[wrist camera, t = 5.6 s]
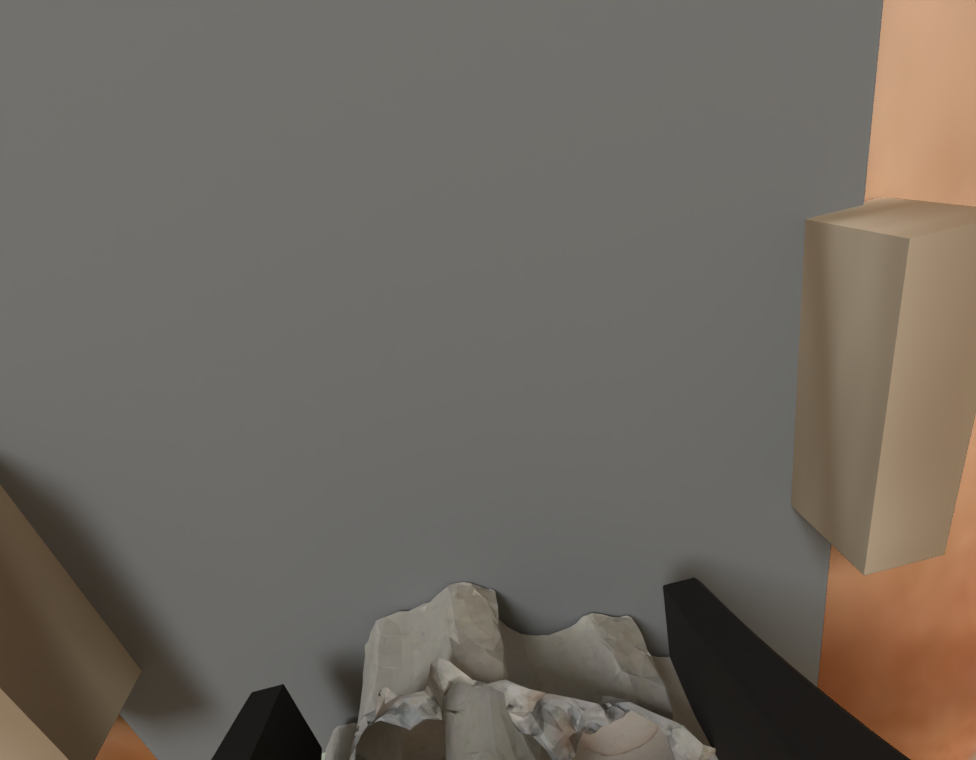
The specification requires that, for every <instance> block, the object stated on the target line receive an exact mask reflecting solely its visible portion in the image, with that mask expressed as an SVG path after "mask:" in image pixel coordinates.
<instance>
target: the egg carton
mask: <svg viewBox="0 0 976 760" xmlns="http://www.w3.org/2000/svg"><path fill="white" fill-rule="evenodd" d="M325 760H718V758H717V756H716V755H715V748H712V747H711V745H710V743H709V742H708V740H707V738H706V736H705V734H704V732H703V730H702V728H701V727H700V725H699V723H698V721H697V719H696V717H695V715H694V713H693V711H692V708H691V706H690V704H689V701H688V699H687V697H686V695H685V692H684V690H683V688H682V685H681V683H680V680H679V678H678V676H677V673H676V671H675V669H674V666H673V664H672V661H671V659H670V657H656V656H651V655H650V653H649V652H648V650H647V647H646V644H645V641H644V638H643V636H642V634H641V632H640V630H639V628H638V626H637V625H636V623H635V622H634V620H633V619H632V617H629V616H622V617H610V616H607V615H603V614H596V613H591V614H588V615H585V616H583V617H581V618H580V620H579V621H578V622H577V623H576V624H574V625H573V626H571V627H569V628H567V629H564V630H561V631H559V632H556V633H553V634H550V635H538V636H537V635H536V636H535V635H527V634H520V633H518V632H516V631H514V630H512V629H510V628H509V627H507V626H506V625H505V624H504V623H503V622H502V621H501V620H500V619H499V615H498V604H497V599H496V594H495V591H494V590H491V589H486V588H483V587H480V586H477V585H474V584H471V583H466V582H461V583H454V584H450V585H448V586H447V587H446V588H445V589H444V590H442V591H441V592H440V593H439V594H438V595H437V596H435V597H434V598H433V599H432V600H431V601H430V602H428V603H423V604H422V605H420V606H418V607H416V608H414V609H412V610H410V611H399V612H395V613H393V614H390V615H387V616H385V617H383V618H381V619H379V620H377V621H376V622H375V624H374V626H373V628H372V630H371V633H370V637H369V640H368V642H367V643H366V645H365V661H364V669H363V686H362V694H361V703H360V710H359V716H358V723H351V724H347V725H341V726H337V727H336V728H335V729H334V730H333V732H332V735H331V738H330V740H329V743H328V745H327V747H326V752H325Z"/></svg>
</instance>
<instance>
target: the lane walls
mask: <svg viewBox="0 0 976 760" xmlns="http://www.w3.org/2000/svg"><path fill="white" fill-rule="evenodd" d="M975 414H976V207H972V206H963V205H953V204H944V203H935V202H926V201H916V200H907V199H898V198H888V197H880V198H876V199H872V200H868V201H864V205H862V206H857V207H853V208H849V209H845V210H841V211H837V212H833V213H829V214H825V215H820V216H816V217H812V218H808V219H805V235H804V254H803V274H802V294H801V314H800V334H799V354H798V374H797V394H796V414H795V434H794V454H793V474H792V493H791V506H792V507H793V508H794V509H795V510H796V511H797V512H799V513H800V514H801V515H802V516H803V517H804V518H805V519H806V520H807V521H808V522H809V523H810V524H811V525H812V526H813V527H814V528H815V529H816V530H817V531H818V532H819V533H820V534H821V535H822V536H823V537H824V538H826V539H827V540H828V541H829V542H830V543H831V544H832V545H833V546H834V547H835V548H836V549H837V550H838V551H839V552H840V553H841V554H842V555H843V556H844V557H845V558H846V559H847V560H848V561H849V562H850V563H851V564H852V565H854V566H855V567H856V568H857V569H858V570H859V571H860V572H861V573H862V574H863V575H868V574H872V573H876V572H879V571H883V570H887V569H891V568H895V567H899V566H903V565H906V564H910V563H914V562H918V561H922V560H926V559H930V558H933V557H937V556H941V555H944V554H945V549H946V545H947V540H948V536H949V531H950V527H951V522H952V518H953V513H954V509H955V504H956V500H957V495H958V491H959V486H960V482H961V477H962V473H963V468H964V464H965V459H966V455H967V450H968V446H969V441H970V437H971V432H972V428H973V423H974V419H975ZM141 671H142V670H141V669H140V668H139V667H138V665H137V664H136V663H135V661H134V660H133V659H132V657H131V656H130V655H129V653H128V652H127V651H126V649H125V648H124V647H123V645H122V644H121V643H120V641H119V640H118V639H117V638H116V636H115V635H114V634H113V632H112V631H111V630H110V628H109V627H108V626H107V624H106V623H105V622H104V620H103V619H102V618H101V616H100V615H99V614H98V613H97V611H96V610H95V609H94V607H93V606H92V605H91V603H90V602H89V601H88V599H87V598H86V597H85V595H84V594H83V593H82V591H81V590H80V589H79V587H78V586H77V585H76V584H75V582H74V581H73V580H72V578H71V577H70V576H69V574H68V573H67V572H66V570H65V569H64V568H63V566H62V565H61V564H60V562H59V561H58V560H57V558H56V557H55V556H54V555H53V553H52V552H51V551H50V549H49V548H48V547H47V545H46V544H45V543H44V541H43V540H42V539H41V537H40V536H39V535H38V533H37V532H36V531H35V530H34V528H33V527H32V526H31V524H30V523H29V522H28V520H27V519H26V518H25V516H24V515H23V514H22V512H21V511H20V510H19V508H18V507H17V506H16V504H15V503H14V502H13V501H12V499H11V498H10V497H9V495H8V494H7V493H6V491H5V490H4V489H3V487H2V486H1V485H0V760H95V758H96V756H97V754H98V752H99V751H100V749H101V747H102V745H103V743H104V741H105V739H106V737H107V735H108V733H109V732H110V730H111V728H112V726H113V724H114V722H115V720H116V718H117V716H118V715H119V713H120V711H121V709H122V707H123V705H124V703H125V701H126V699H127V698H128V696H129V694H130V692H131V690H132V688H133V686H134V684H135V682H136V681H137V679H138V677H139V675H140V673H141Z"/></svg>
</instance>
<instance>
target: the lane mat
mask: <svg viewBox="0 0 976 760" xmlns="http://www.w3.org/2000/svg"><path fill="white" fill-rule="evenodd" d="M882 9H883V0H0V485H1V486H2V487H3V489H4V490H5V491H6V493H7V494H8V495H9V497H10V498H11V499H12V501H13V502H14V503H15V504H16V506H17V507H18V508H19V510H20V511H21V512H22V514H23V515H24V516H25V518H26V519H27V520H28V522H29V523H30V524H31V526H32V527H33V528H34V530H35V531H36V532H37V533H38V535H39V536H40V537H41V539H42V540H43V541H44V543H45V544H46V545H47V547H48V548H49V549H50V551H51V552H52V553H53V555H54V556H55V557H56V558H57V560H58V561H59V562H60V564H61V565H62V566H63V568H64V569H65V570H66V572H67V573H68V574H69V576H70V577H71V578H72V580H73V581H74V582H75V584H76V585H77V586H78V587H79V589H80V590H81V591H82V593H83V594H84V595H85V597H86V598H87V599H88V601H89V602H90V603H91V605H92V606H93V607H94V609H95V610H96V611H97V613H98V614H99V615H100V616H101V618H102V619H103V620H104V622H105V623H106V624H107V626H108V627H109V628H110V630H111V631H112V632H113V634H114V635H115V636H116V638H117V639H118V640H119V641H120V643H121V644H122V645H123V647H124V648H125V649H126V651H127V652H128V653H129V655H130V656H131V657H132V659H133V660H134V661H135V663H136V664H137V665H138V667H139V668H140V669H141V670H142V671H141V673H140V675H139V677H138V679H137V681H136V682H135V684H134V686H133V688H132V690H131V692H130V694H129V696H128V698H127V699H126V701H125V703H124V705H123V707H122V709H121V711H120V713H119V714H120V715H121V716H122V717H123V718H124V720H125V721H126V722H127V723H128V724H129V726H130V727H131V728H132V729H133V730H134V732H135V733H136V734H137V735H138V736H139V738H140V739H141V740H142V741H143V742H144V744H145V745H146V746H147V747H148V748H149V750H150V751H151V752H152V753H153V755H154V756H155V757H156V758H157V759H158V760H211V759H212V757H213V756H214V754H215V752H216V751H217V749H218V747H219V746H220V744H221V742H222V741H223V739H224V737H225V735H226V734H227V732H228V730H229V729H230V727H231V725H232V724H233V722H234V720H235V719H236V717H237V715H238V714H239V712H240V710H241V709H242V707H243V705H244V704H245V702H246V701H247V699H248V697H249V696H250V694H251V693H252V692H255V691H258V690H262V689H266V688H270V687H274V686H278V685H282V684H284V685H285V687H286V689H287V690H288V692H289V694H290V695H291V697H292V699H293V700H294V702H295V704H296V705H297V707H298V709H299V711H300V712H301V714H302V716H303V717H304V719H305V721H306V722H307V724H308V726H309V727H310V729H311V731H312V732H313V734H314V736H315V737H316V739H317V741H318V742H319V744H320V746H321V747H322V759H321V760H325V752H326V747H327V745H328V743H329V740H330V738H331V735H332V732H333V730H334V729H335V728H336V727H337V726H341V725H347V724H351V723H358V716H359V710H360V703H361V694H362V686H363V669H364V661H365V645H366V643H367V642H368V640H369V637H370V633H371V630H372V628H373V626H374V624H375V622H376V621H377V620H379V619H381V618H383V617H385V616H387V615H390V614H393V613H395V612H399V611H410V610H412V609H414V608H416V607H418V606H420V605H422V604H423V603H428V602H430V601H431V600H432V599H433V598H434V597H435V596H437V595H438V594H439V593H440V592H441V591H442V590H444V589H445V588H446V587H447V586H448V585H450V584H454V583H461V582H466V583H471V584H474V585H477V586H480V587H483V588H486V589H491V590H494V591H495V594H496V599H497V604H498V615H499V619H500V620H501V621H502V622H503V623H504V624H505V625H506V626H507V627H509V628H510V629H512V630H514V631H516V632H518V633H520V634H527V635H535V636H536V635H537V636H538V635H550V634H553V633H556V632H559V631H561V630H564V629H567V628H569V627H571V626H573V625H574V624H576V623H577V622H578V621H579V620H580V618H581V617H583V616H585V615H588V614H591V613H596V614H603V615H607V616H610V617H622V616H629V617H632V619H633V620H634V622H635V623H636V625H637V626H638V628H639V630H640V632H641V634H642V636H643V638H644V641H645V644H646V647H647V650H648V652H649V653H650V655H651V656H656V657H670V655H669V645H668V634H667V624H666V614H665V603H664V593H663V585H667V584H670V583H674V582H678V581H682V580H686V579H690V578H696V579H698V580H700V581H701V582H702V583H703V584H704V585H705V586H706V587H707V588H708V589H709V590H710V591H711V592H712V593H713V594H714V595H715V596H716V597H717V598H718V599H719V600H720V601H721V602H722V603H723V604H724V605H725V606H726V607H727V608H728V609H729V610H730V611H731V612H732V613H733V614H734V615H735V616H737V617H738V618H739V619H740V620H741V621H742V622H743V623H744V624H745V625H746V626H747V627H748V628H750V629H751V630H752V631H753V632H754V633H755V634H756V635H757V636H758V637H759V638H760V639H762V640H763V641H764V642H765V643H766V644H767V645H768V646H769V647H771V648H772V649H773V650H774V651H775V652H776V653H777V654H779V655H780V656H781V657H782V658H783V659H784V660H786V661H787V662H788V663H789V664H790V665H791V666H793V667H794V668H795V669H796V670H797V671H798V672H800V673H801V674H802V675H803V676H804V677H806V678H807V679H808V680H809V681H810V682H811V683H813V684H814V685H815V686H816V687H817V685H818V675H819V664H820V654H821V644H822V633H823V623H824V612H825V602H826V592H827V581H828V571H829V560H830V550H831V543H830V542H829V541H828V540H827V539H826V538H824V537H823V536H822V535H821V534H820V533H819V532H818V531H817V530H816V529H815V528H814V527H813V526H812V525H811V524H810V523H809V522H808V521H807V520H806V519H805V518H804V517H803V516H802V515H801V514H800V513H799V512H797V511H796V510H795V509H794V508H793V507H792V506H791V493H792V474H793V454H794V434H795V414H796V394H797V374H798V354H799V334H800V314H801V294H802V274H803V254H804V235H805V219H808V218H812V217H816V216H820V215H825V214H829V213H833V212H837V211H841V210H845V209H849V208H853V207H857V206H862V205H864V196H865V186H866V175H867V165H868V154H869V144H870V134H871V123H872V113H873V102H874V92H875V82H876V71H877V61H878V50H879V40H880V30H881V19H882Z"/></svg>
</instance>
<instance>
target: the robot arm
mask: <svg viewBox="0 0 976 760" xmlns="http://www.w3.org/2000/svg"><path fill="white" fill-rule="evenodd" d="M663 593H664V603H665V614H666V624H667V634H668V645H669V655H670V659H671V661H672V664H673V666H674V669H675V671H676V673H677V676H678V678H679V680H680V683H681V685H682V688H683V690H684V692H685V695H686V697H687V699H688V701H689V704H690V706H691V708H692V711H693V713H694V715H695V717H696V719H697V721H698V723H699V725H700V727H701V728H702V730H703V732H704V734H705V736H706V738H707V740H708V742H709V743H710V745H711V747H712V748H715V755H716V756H717V758H718V760H910V759H909V758H907V757H906V756H905V755H903V754H902V753H901V752H899V751H898V750H897V749H895V748H894V747H893V746H891V745H890V744H889V743H887V742H886V741H885V740H883V739H882V738H881V737H879V736H878V735H877V734H875V733H874V732H873V731H871V730H870V729H869V728H868V727H866V726H865V725H864V724H862V723H861V722H860V721H859V720H857V719H856V718H855V717H854V716H852V715H851V714H850V713H848V712H847V711H846V710H845V709H843V708H842V707H841V706H840V705H838V704H837V703H836V702H835V701H833V700H832V699H831V698H830V697H828V696H827V695H826V694H825V693H824V692H822V691H821V690H820V689H819V688H817V687H816V686H815V685H814V684H813V683H811V682H810V681H809V680H808V679H807V678H806V677H804V676H803V675H802V674H801V673H800V672H798V671H797V670H796V669H795V668H794V667H793V666H791V665H790V664H789V663H788V662H787V661H786V660H784V659H783V658H782V657H781V656H780V655H779V654H777V653H776V652H775V651H774V650H773V649H772V648H771V647H769V646H768V645H767V644H766V643H765V642H764V641H763V640H762V639H760V638H759V637H758V636H757V635H756V634H755V633H754V632H753V631H752V630H751V629H750V628H748V627H747V626H746V625H745V624H744V623H743V622H742V621H741V620H740V619H739V618H738V617H737V616H735V615H734V614H733V613H732V612H731V611H730V610H729V609H728V608H727V607H726V606H725V605H724V604H723V603H722V602H721V601H720V600H719V599H718V598H717V597H716V596H715V595H714V594H713V593H712V592H711V591H710V590H709V589H708V588H707V587H706V586H705V585H704V584H703V583H702V582H701V581H700V580H698V579H696V578H690V579H686V580H682V581H678V582H674V583H670V584H667V585H663ZM321 759H322V747H321V746H320V744H319V742H318V741H317V739H316V737H315V736H314V734H313V732H312V731H311V729H310V727H309V726H308V724H307V722H306V721H305V719H304V717H303V716H302V714H301V712H300V711H299V709H298V707H297V705H296V704H295V702H294V700H293V699H292V697H291V695H290V694H289V692H288V690H287V689H286V687H285V685H284V684H282V685H278V686H274V687H270V688H266V689H262V690H258V691H255V692H252V693H251V694H250V696H249V697H248V699H247V701H246V702H245V704H244V705H243V707H242V709H241V710H240V712H239V714H238V715H237V717H236V719H235V720H234V722H233V724H232V725H231V727H230V729H229V730H228V732H227V734H226V735H225V737H224V739H223V741H222V742H221V744H220V746H219V747H218V749H217V751H216V752H215V754H214V756H213V757H212V759H211V760H321Z"/></svg>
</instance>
